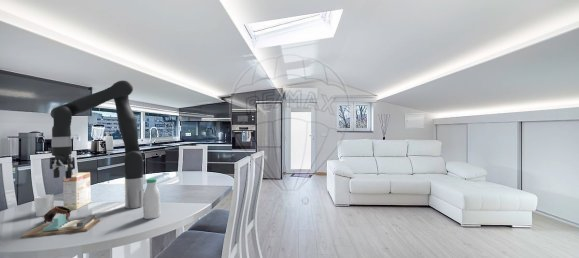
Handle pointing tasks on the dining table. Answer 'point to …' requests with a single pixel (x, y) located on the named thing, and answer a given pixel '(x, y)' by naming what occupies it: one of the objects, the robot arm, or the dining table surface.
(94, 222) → the ticket holder
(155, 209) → the milk bottle
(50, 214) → the pottery mug
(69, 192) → the coffeecake box
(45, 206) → the white cup
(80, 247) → the dining table surface
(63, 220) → the stub
